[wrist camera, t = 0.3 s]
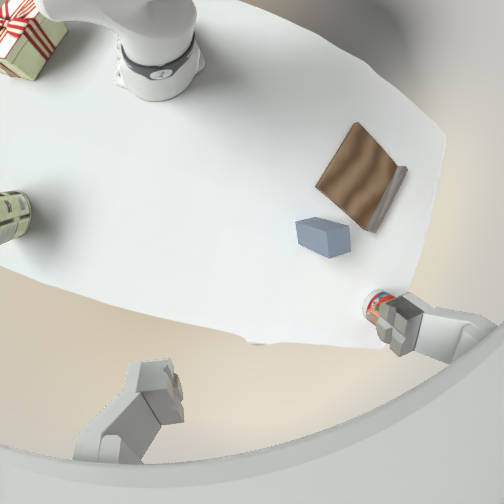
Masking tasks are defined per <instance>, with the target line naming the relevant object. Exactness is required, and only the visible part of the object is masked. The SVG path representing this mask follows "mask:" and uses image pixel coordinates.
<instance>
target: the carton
mask: <svg viewBox="0 0 504 504" xmlns="http://www.w3.org/2000/svg"><path fill="white" fill-rule="evenodd" d="M295 223H296V230H297V237H298V244H300V245H302V246H304V247H306V248H309V249H311V250H313V251H315V252H317V253H319V254H321V255H323V256H325V257H327V258H332V257H335V256H339V255H342V254H345V253H348V252H351V247H350V234H349V226H347V225H343V224H339V223H335V222H332V221H328V220H324V219H320V218H316V217H314V218H310V219H305V220H301V221H297V222H295Z"/></svg>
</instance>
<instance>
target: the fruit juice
mask: <svg viewBox="0 0 504 504" xmlns="http://www.w3.org/2000/svg"><path fill="white" fill-rule="evenodd" d="M394 298H396V297H394V296H392V295H390V294H388V293H386V292H384V291H382V290H375V291H373V292H371V293H370V294H369V295H368V296H367V297H366V299H365V301H364V303H363V306H362V313H363V316H364V317H365V318H366V319H367V320H368V321H370V322H371V323H373V324H374V325H375V326H377V321H378V319H379V318H380V315H379V313H378V309H379V306H380V304H381V303H384V302H386V301H389V300H392V299H394ZM413 351H415V350H413Z"/></svg>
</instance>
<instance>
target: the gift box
mask: <svg viewBox="0 0 504 504" xmlns="http://www.w3.org/2000/svg"><path fill="white" fill-rule="evenodd" d="M67 32H68V29H67V28H66V26H65V24H64V22H54V21H52V20H49V19H47V18H46V17H44V16H43V15H42V14H41V13H40V12H39V11H38V9H37V8H36V6H35V3H34V0H11V1H10V2H9V3H8V1H6V2H5V3H4V5H3V6H2V7H1V8H0V73H3V74H8V75H10V76H11V77H14V76H17V77H19V78H25V79H28V80H32V81H34V80H35V79H36V77H37V75H38V74H39V72H40V71H41V69H42V67H43V66H44V64H45V63H46V61H47V60H48V58H49V57H50V55H51V54H52V53H53V51H54V50H55V48H56V47H57V45H58V44H59V43H60V41H61V40H62V39H63V37H64V36H65V35H66V33H67Z"/></svg>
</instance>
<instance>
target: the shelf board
mask: <svg viewBox="0 0 504 504" xmlns="http://www.w3.org/2000/svg"><path fill="white" fill-rule="evenodd" d="M407 170H408V169H407V168H406V166H397V165H396V164H395V162H394V161H393V160H392V159H391V158H390V157H389V155H388V154H387V153H386V152H385V151H384V150H383V148H382V147H381V146H380V145H379V144H378V143H377V142H376V141H375V140H374V139H373V137H372V136H371V135H370V134H369V133H368V132H367V131H366V130H365V129H364V128H363V127H362V126H361V125H360V124H359V123H358V122H356V123H354V124H353V126H352V128H351V129H350V131H349V132H348V134H347V136H346V137H345V139H344V141H343V142H342V144H341V146H340V147H339V149H338V150H337V152H336V154H335V155H334V157H333V159H332V160H331V162H330V163H329V165H328V167H327V168H326V170H325V172H324V173H323V175H322V176H321V178H320V180H319V181H318V183H317V184H316V186H315V187H316V188H317V189H318V190H320V191H321V192H322V193H323V194H324V195H326V196H327V197H328V198H329V199H330V200H331V201H333V202H334V203H335V204H336V205H337V206H338V207H339V208H341V209H342V210H343V211H344V212H345V213H346V214H347V215H348V216H350V217H351V218H352V219H353V220H354V221H355V222H356V223H357V224H358V225H359V226H360V227H362V228H363V229H364V230H367V231H370V232H374V233H376V231H377V229H378V227H379V225H380V224H381V222H382V220H383V218H384V216H385V214H386V212H387V211H388V209H389V207H390V205H391V203H392V201H393V199H394V197H395V195H396V193H397V191H398V189H399V187H400V185H401V183H402V181H403V179H404V177H405V175H406V172H407Z"/></svg>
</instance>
